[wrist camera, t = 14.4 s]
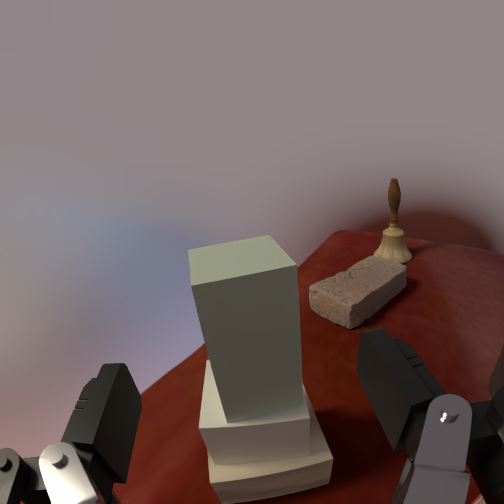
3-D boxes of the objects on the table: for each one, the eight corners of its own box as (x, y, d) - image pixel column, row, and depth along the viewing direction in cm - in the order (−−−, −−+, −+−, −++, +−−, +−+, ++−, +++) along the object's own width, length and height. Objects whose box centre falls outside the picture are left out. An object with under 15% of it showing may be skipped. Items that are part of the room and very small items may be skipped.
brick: (369, 274, 55) (370, 250, 53) (408, 287, 48) (410, 262, 47) (307, 313, 46) (305, 286, 45) (350, 335, 40) (351, 306, 38)
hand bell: (368, 250, 64) (368, 176, 59) (403, 247, 64) (404, 175, 58) (380, 266, 57) (381, 183, 51) (418, 262, 56) (421, 182, 50)
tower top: (218, 400, 26) (207, 360, 24) (296, 392, 26) (294, 350, 24) (214, 464, 19) (198, 428, 17) (309, 455, 19) (309, 417, 17)
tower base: (215, 430, 28) (204, 399, 26) (302, 414, 29) (301, 381, 27) (223, 505, 19) (210, 483, 18) (328, 484, 20) (333, 458, 18)
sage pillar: (216, 373, 22) (188, 249, 19) (281, 359, 23) (268, 234, 19) (227, 423, 18) (191, 285, 14) (302, 404, 18) (296, 264, 15)
